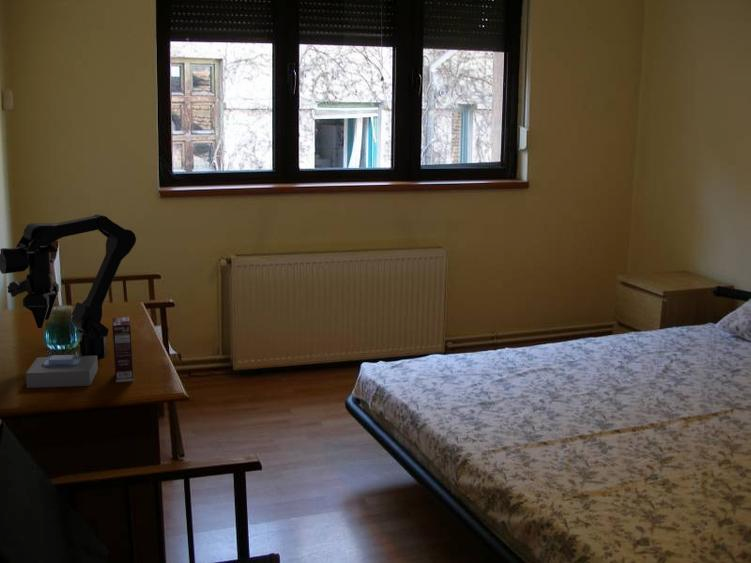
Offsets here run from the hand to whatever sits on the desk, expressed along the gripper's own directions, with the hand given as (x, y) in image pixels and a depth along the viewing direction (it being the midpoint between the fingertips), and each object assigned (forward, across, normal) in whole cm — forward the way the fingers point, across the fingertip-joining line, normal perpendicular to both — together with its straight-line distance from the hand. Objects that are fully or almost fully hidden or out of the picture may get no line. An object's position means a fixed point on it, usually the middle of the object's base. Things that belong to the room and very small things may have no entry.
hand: (43, 323), depth 251 cm
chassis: (+12, +13, +7) cm, 19 cm away
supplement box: (+12, +14, +23) cm, 29 cm away
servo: (+12, +13, +7) cm, 19 cm away
